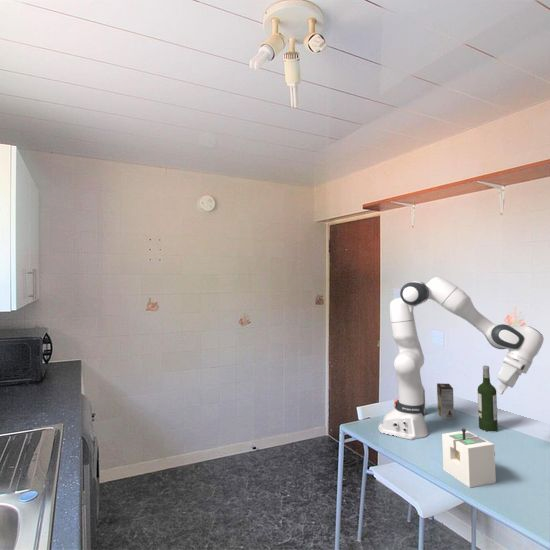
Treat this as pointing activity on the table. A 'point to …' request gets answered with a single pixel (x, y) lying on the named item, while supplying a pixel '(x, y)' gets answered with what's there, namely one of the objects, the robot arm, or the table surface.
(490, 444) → the tuner housing
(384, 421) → the robot arm
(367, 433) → the table surface
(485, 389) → the wine bottle
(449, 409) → the coffee box
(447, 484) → the table surface
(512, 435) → the table surface
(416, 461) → the table surface
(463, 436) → the peg
